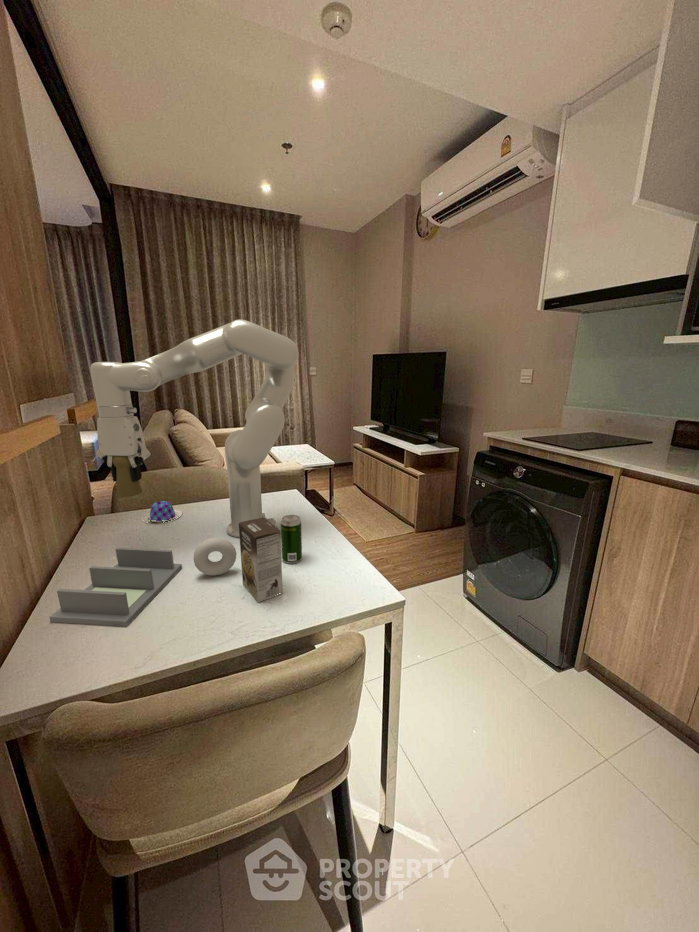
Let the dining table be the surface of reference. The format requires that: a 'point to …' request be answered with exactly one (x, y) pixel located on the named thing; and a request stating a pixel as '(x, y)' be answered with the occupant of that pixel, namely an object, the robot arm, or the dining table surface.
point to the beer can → (291, 539)
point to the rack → (118, 589)
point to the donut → (211, 546)
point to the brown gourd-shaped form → (125, 478)
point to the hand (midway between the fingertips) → (127, 479)
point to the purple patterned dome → (163, 511)
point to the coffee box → (261, 558)
